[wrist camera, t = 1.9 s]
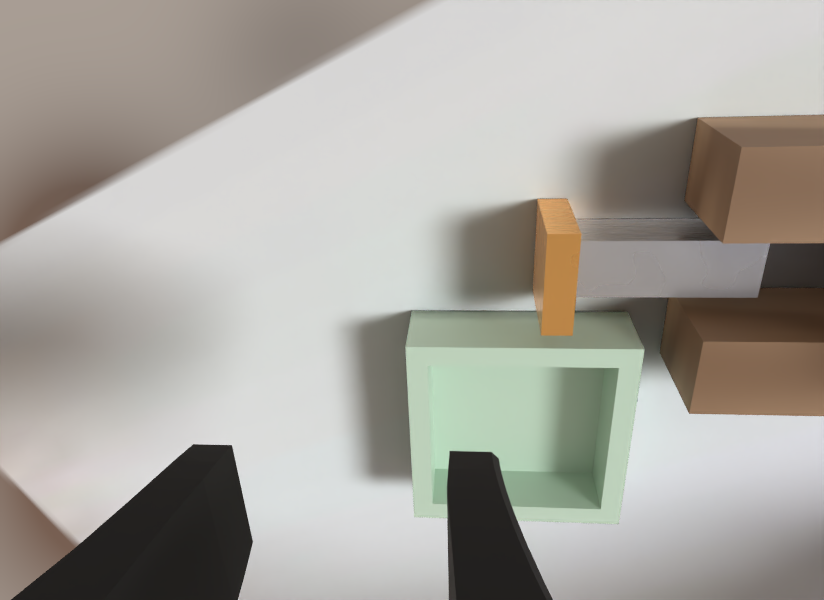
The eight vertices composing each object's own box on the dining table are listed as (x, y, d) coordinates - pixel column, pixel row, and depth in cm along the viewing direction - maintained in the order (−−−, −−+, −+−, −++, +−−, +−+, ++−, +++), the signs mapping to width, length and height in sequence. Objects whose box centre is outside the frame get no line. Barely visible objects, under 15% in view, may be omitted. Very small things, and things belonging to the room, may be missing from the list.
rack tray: (606, 476, 22) (618, 524, 20) (419, 471, 22) (414, 516, 21) (627, 311, 19) (644, 349, 17) (412, 310, 19) (405, 346, 18)
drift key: (730, 290, 18) (768, 337, 16) (532, 290, 19) (540, 335, 17) (751, 196, 17) (794, 232, 15) (537, 199, 18) (547, 234, 15)
